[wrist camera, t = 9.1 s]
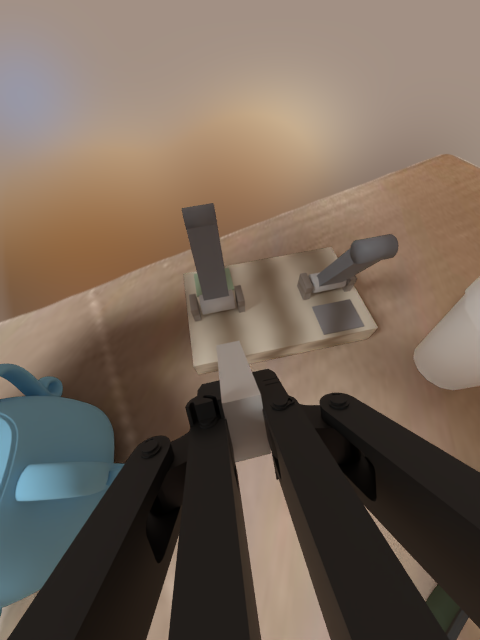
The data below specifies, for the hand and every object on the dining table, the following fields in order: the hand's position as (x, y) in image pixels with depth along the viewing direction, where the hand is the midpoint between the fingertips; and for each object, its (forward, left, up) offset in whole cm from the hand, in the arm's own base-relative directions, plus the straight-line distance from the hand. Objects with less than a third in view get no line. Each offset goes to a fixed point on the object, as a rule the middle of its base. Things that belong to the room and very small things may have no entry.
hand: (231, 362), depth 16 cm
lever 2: (+14, +12, -11) cm, 21 cm away
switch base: (+7, +12, -14) cm, 19 cm away
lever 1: (0, +11, -11) cm, 15 cm away
